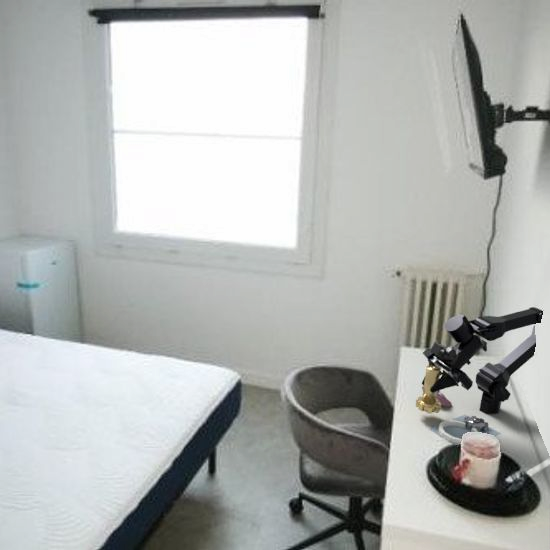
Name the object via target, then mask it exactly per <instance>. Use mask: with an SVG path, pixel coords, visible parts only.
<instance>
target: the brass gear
mask: <svg viewBox="0 0 550 550" xmlns="http://www.w3.org/2000/svg"><path fill="white" fill-rule="evenodd" d="M441 369H442V368H441ZM441 369H440V368H439V367H437V366H433V365H429V364H428V365H427V366H426V369H425V375H424V377H425V382H424V389H423V390H422V396H418V397H417V399H416V400H415V407H416V408H418V410H419V411H421V412H426V414H432V413H435V414H438V413H440V411H441V410H442V405H441V403H440V402H438V400H437V399H436V398H437V391H436V392H433V393H432V392H431V391H430V389H431V388H432V386H433V385H434V384H435V383H436V382H437V381H438V380H439V379H440V378H441V375H440V371H441Z"/></svg>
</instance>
